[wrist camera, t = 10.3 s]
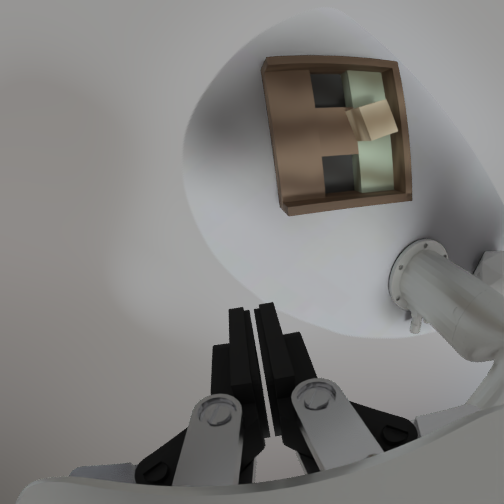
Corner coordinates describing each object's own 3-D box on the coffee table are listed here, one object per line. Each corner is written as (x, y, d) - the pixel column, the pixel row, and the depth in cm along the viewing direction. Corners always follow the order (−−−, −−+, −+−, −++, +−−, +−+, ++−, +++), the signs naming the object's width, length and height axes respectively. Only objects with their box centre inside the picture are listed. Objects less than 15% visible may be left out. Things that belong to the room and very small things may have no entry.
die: (463, 257, 43) (482, 305, 38) (499, 233, 37) (521, 281, 32) (471, 266, 48) (487, 309, 42) (503, 245, 42) (521, 288, 36)
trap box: (390, 193, 37) (412, 200, 32) (279, 206, 37) (288, 216, 32) (377, 70, 31) (397, 61, 26) (260, 70, 31) (266, 56, 25)
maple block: (381, 132, 32) (398, 131, 28) (356, 141, 32) (371, 140, 28) (370, 103, 30) (386, 99, 27) (345, 111, 31) (358, 107, 27)
